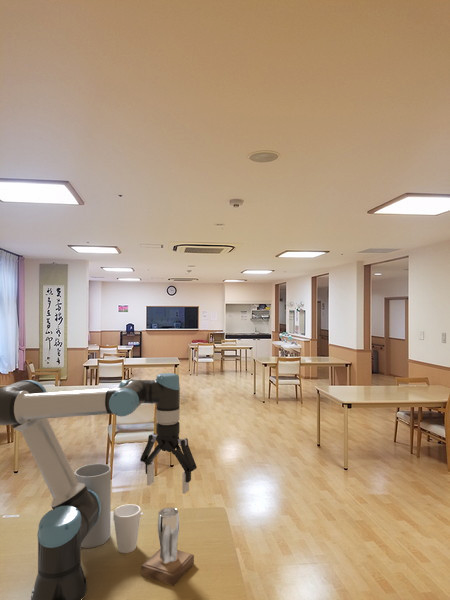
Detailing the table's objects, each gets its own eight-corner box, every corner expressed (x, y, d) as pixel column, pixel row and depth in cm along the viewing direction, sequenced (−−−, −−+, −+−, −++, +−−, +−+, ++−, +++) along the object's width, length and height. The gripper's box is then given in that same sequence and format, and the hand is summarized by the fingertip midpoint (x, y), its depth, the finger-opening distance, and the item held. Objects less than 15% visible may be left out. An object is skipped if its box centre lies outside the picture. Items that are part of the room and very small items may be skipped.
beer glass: (182, 554, 134) (182, 508, 135) (174, 567, 128) (174, 518, 128) (162, 551, 136) (162, 505, 137) (154, 563, 129) (153, 515, 130)
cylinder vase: (69, 538, 150) (69, 469, 151) (101, 526, 159) (101, 461, 159) (82, 553, 141) (83, 480, 142) (116, 539, 149) (116, 470, 150)
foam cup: (133, 557, 138) (133, 518, 139) (108, 554, 140) (108, 515, 141) (144, 541, 148) (144, 505, 148) (120, 539, 150) (121, 503, 150)
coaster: (141, 575, 129) (141, 564, 129) (163, 554, 140) (163, 545, 140) (173, 586, 124) (173, 575, 124) (193, 564, 135) (193, 554, 135)
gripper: (207, 423, 131) (207, 490, 130) (143, 414, 142) (143, 476, 141) (195, 429, 124) (195, 500, 124) (129, 420, 135) (129, 485, 135)
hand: (167, 487), depth 133 cm, fingers open, 13 cm apart
